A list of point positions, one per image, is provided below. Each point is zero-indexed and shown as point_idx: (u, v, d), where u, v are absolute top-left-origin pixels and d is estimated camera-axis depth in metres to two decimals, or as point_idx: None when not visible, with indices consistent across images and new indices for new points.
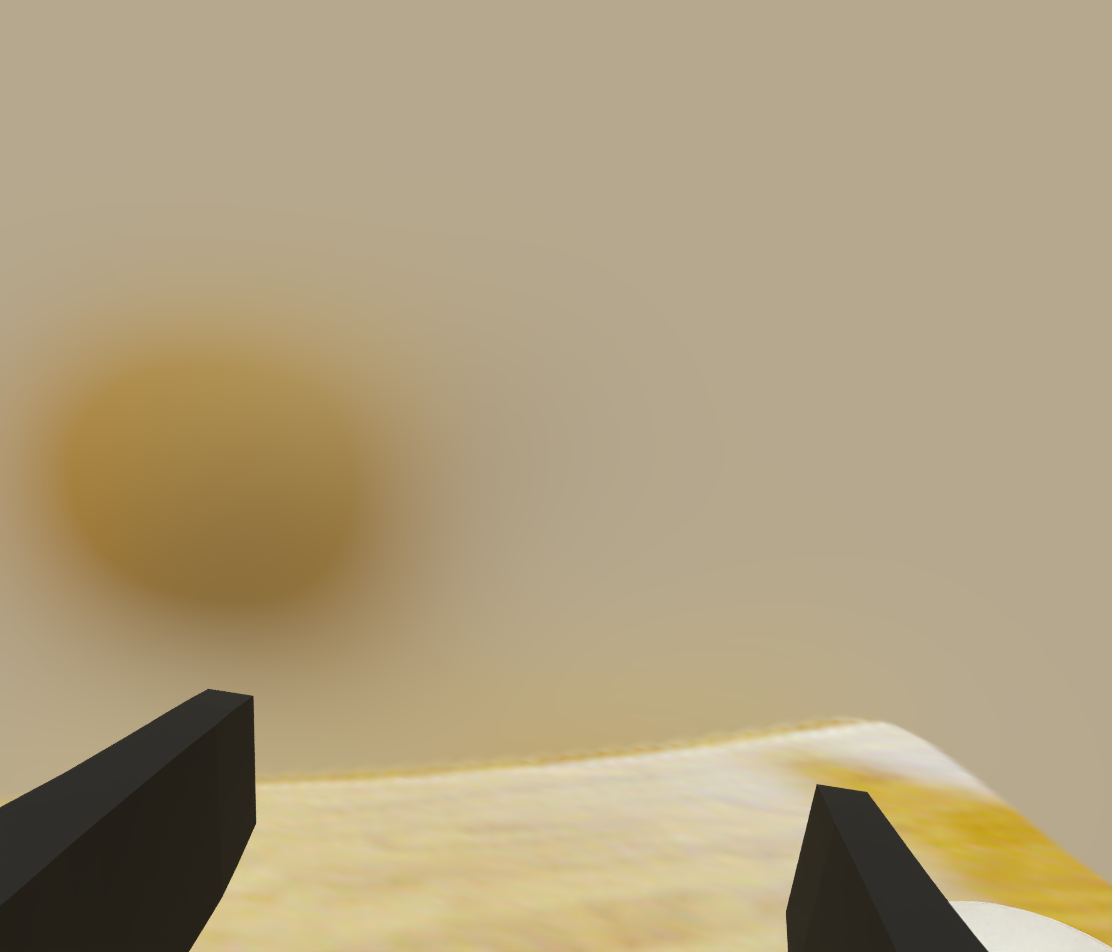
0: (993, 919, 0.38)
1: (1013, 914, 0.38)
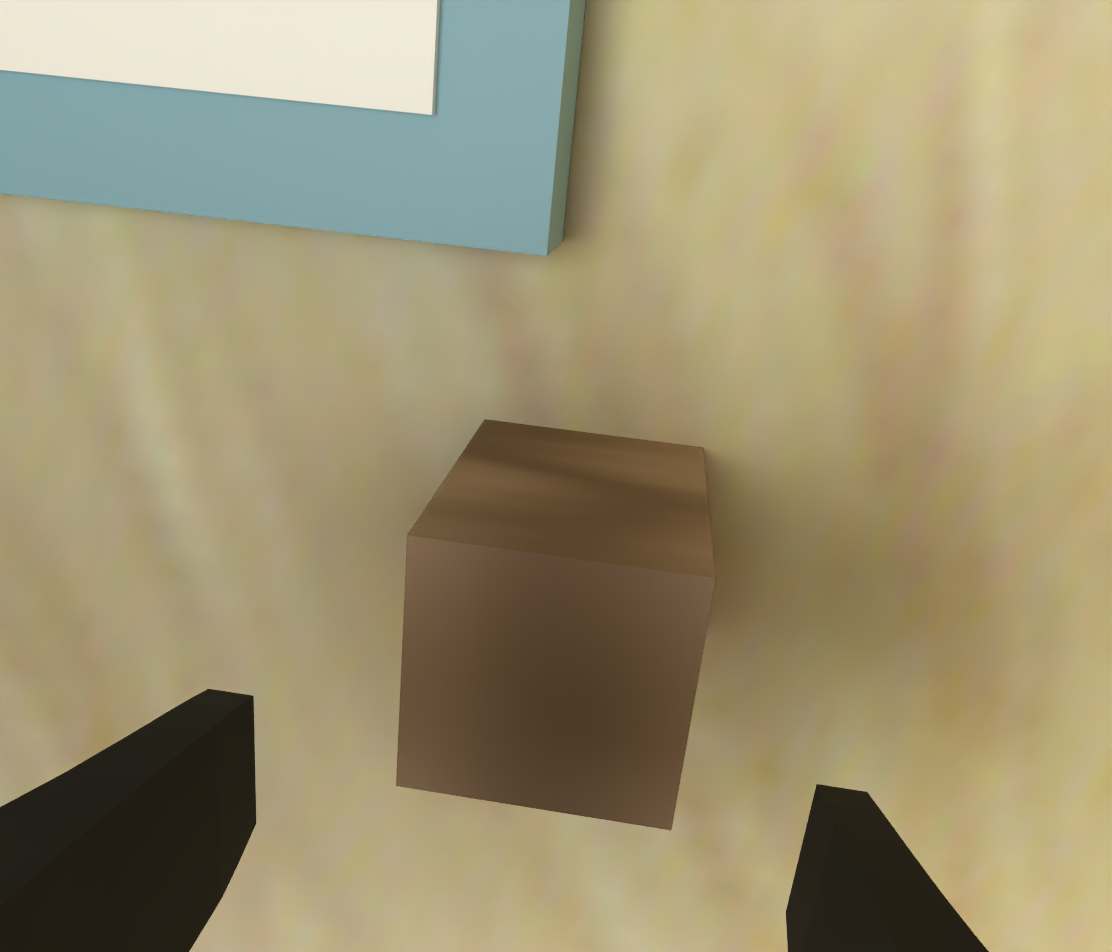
0: None
1: None
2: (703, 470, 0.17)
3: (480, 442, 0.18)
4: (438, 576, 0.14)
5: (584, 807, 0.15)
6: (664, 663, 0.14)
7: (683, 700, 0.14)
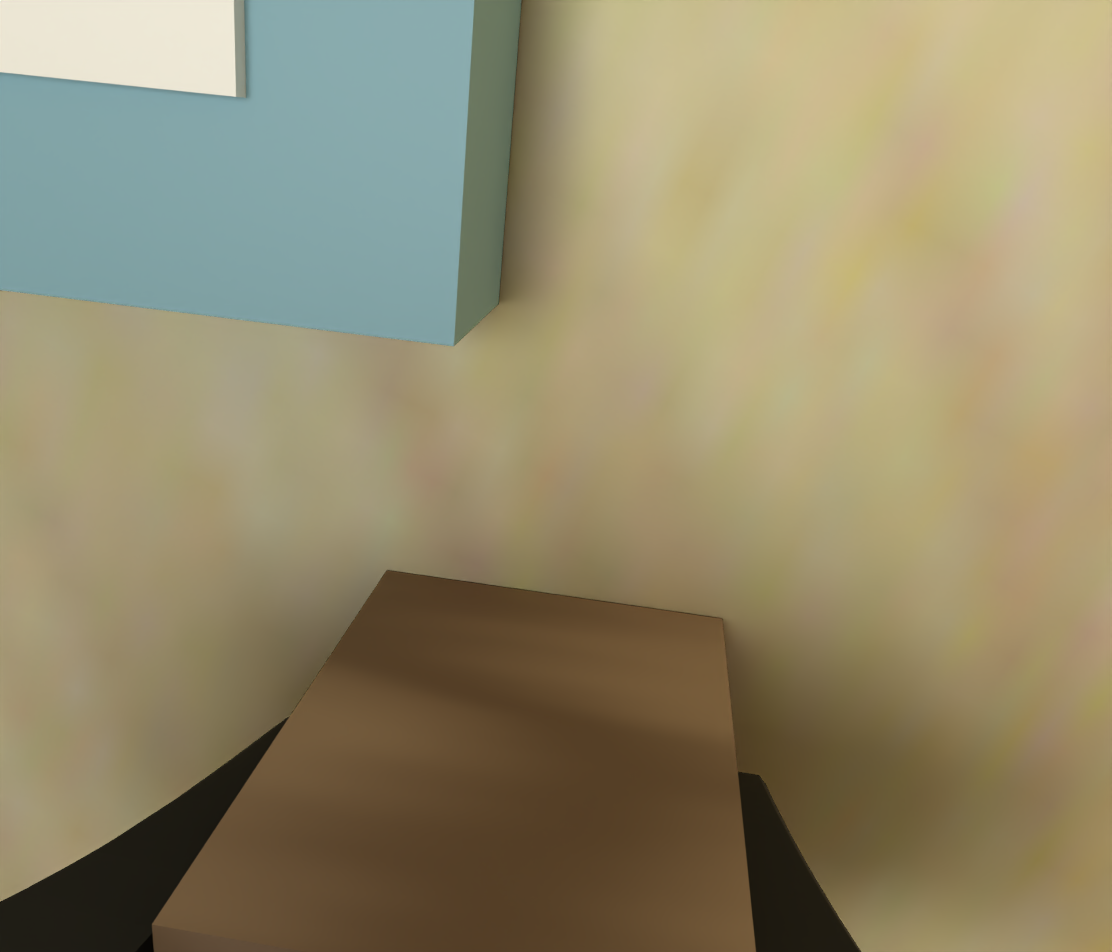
0: None
1: None
2: (726, 678, 0.11)
3: (366, 627, 0.11)
4: None
5: None
6: None
7: None
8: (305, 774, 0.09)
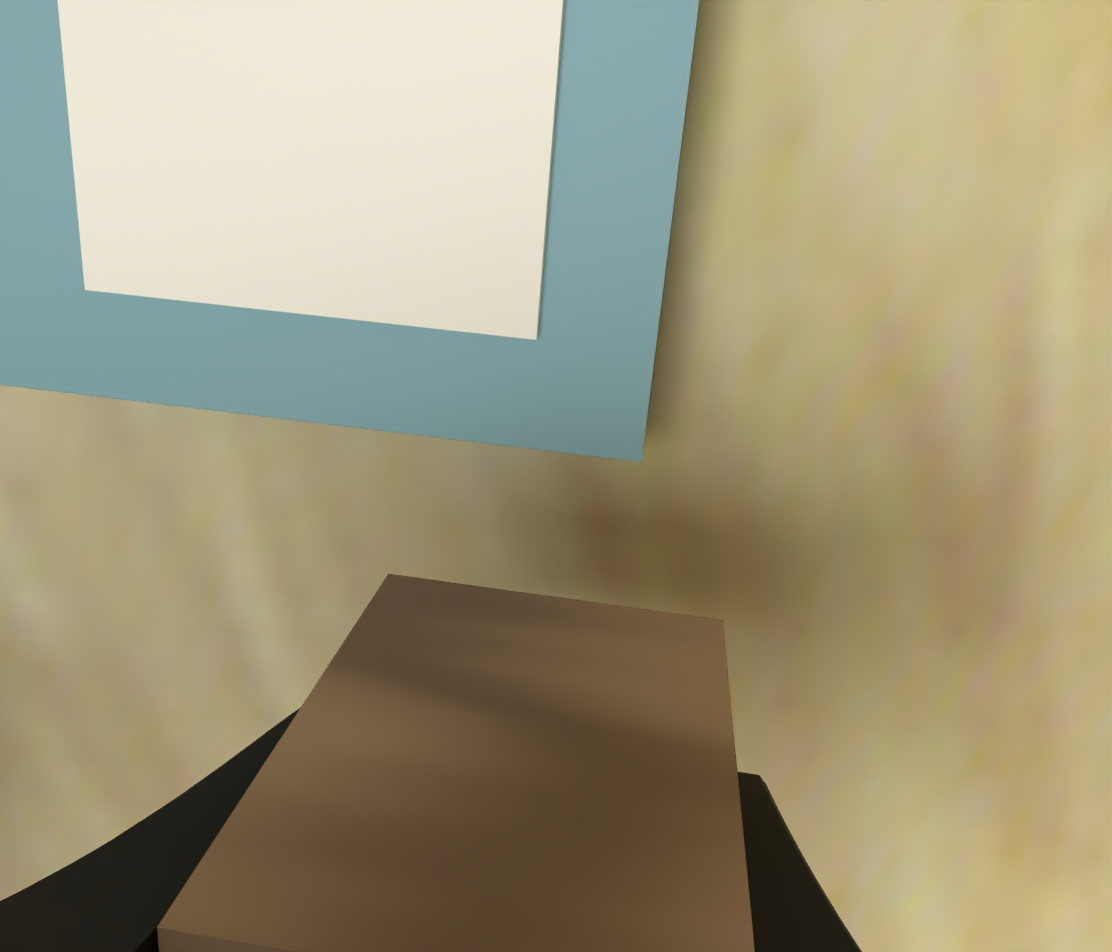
0: None
1: None
2: (725, 678, 0.11)
3: (368, 631, 0.11)
4: None
5: None
6: None
7: None
8: (308, 777, 0.09)
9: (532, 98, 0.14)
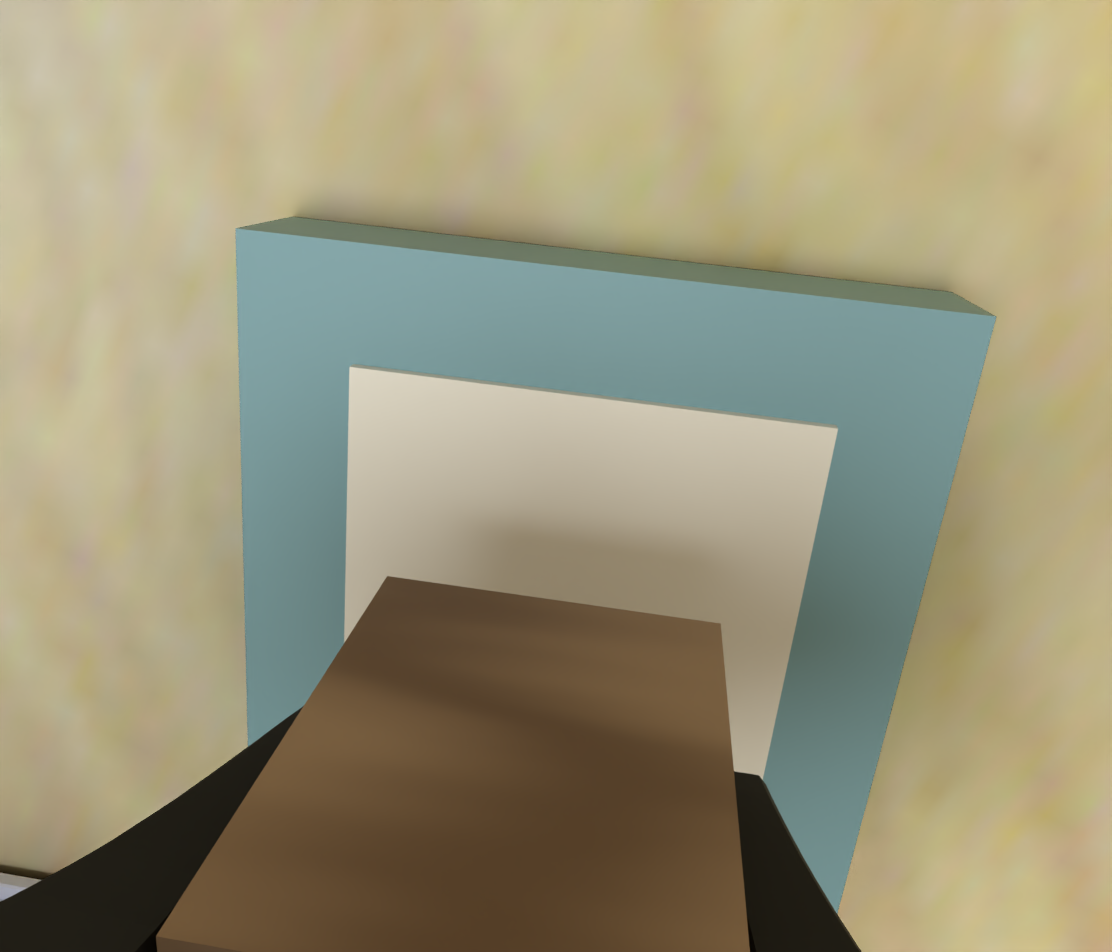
0: None
1: None
2: (724, 683, 0.11)
3: (367, 634, 0.11)
4: None
5: None
6: None
7: None
8: (306, 784, 0.09)
9: (765, 650, 0.16)
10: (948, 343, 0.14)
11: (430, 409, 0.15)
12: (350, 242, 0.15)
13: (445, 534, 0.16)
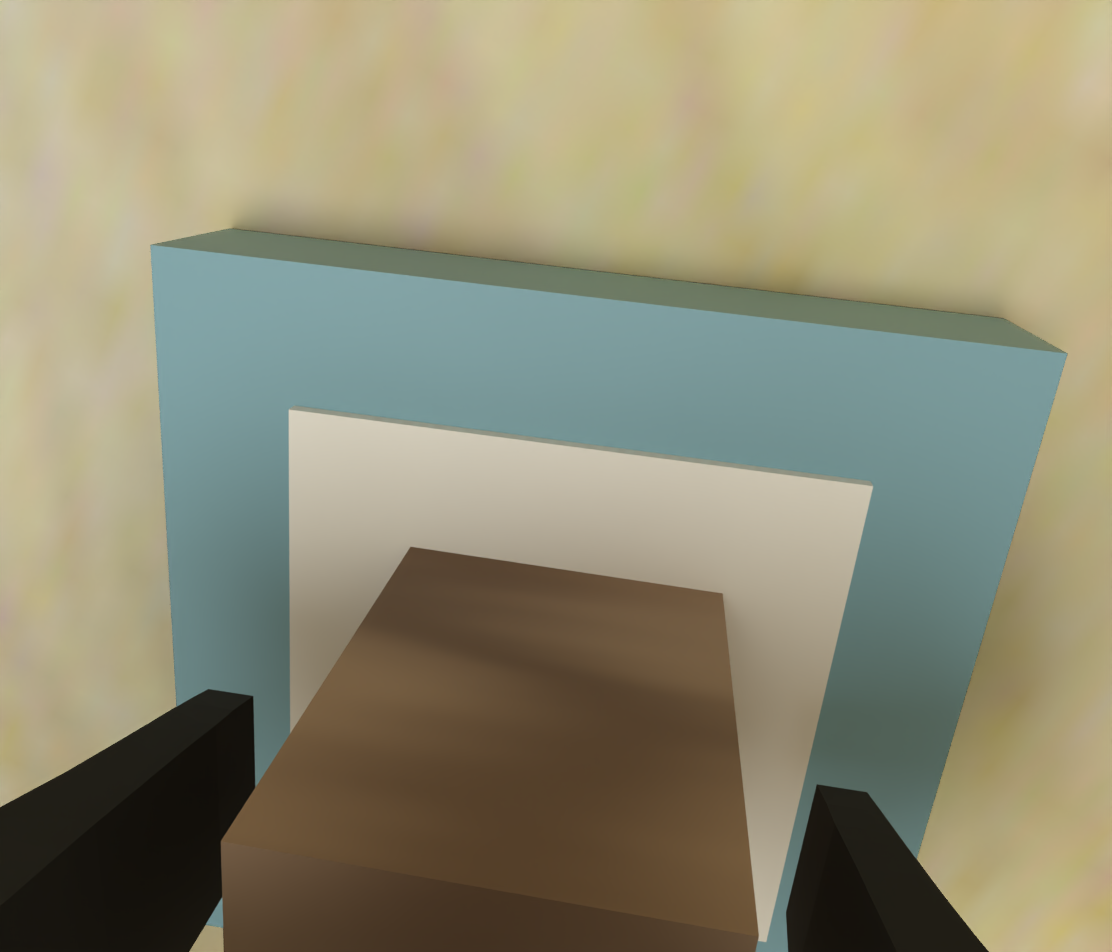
0: None
1: None
2: (725, 644, 0.12)
3: (394, 596, 0.12)
4: (277, 904, 0.08)
5: None
6: None
7: None
8: (346, 721, 0.09)
9: (783, 740, 0.14)
10: (1008, 385, 0.12)
11: (385, 460, 0.13)
12: (287, 261, 0.12)
13: None
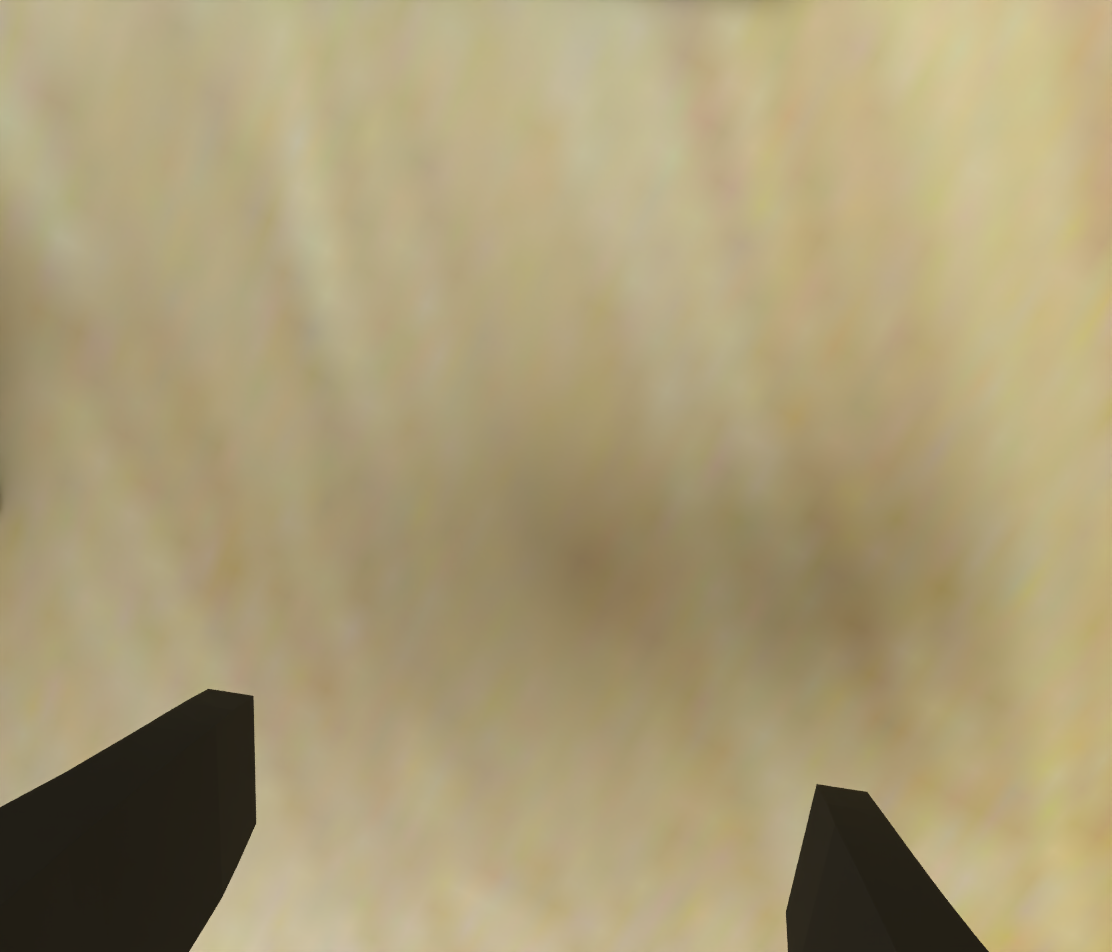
0: None
1: None
2: None
3: None
4: None
5: None
6: None
7: None
8: None
9: None
10: None
11: None
12: None
13: None
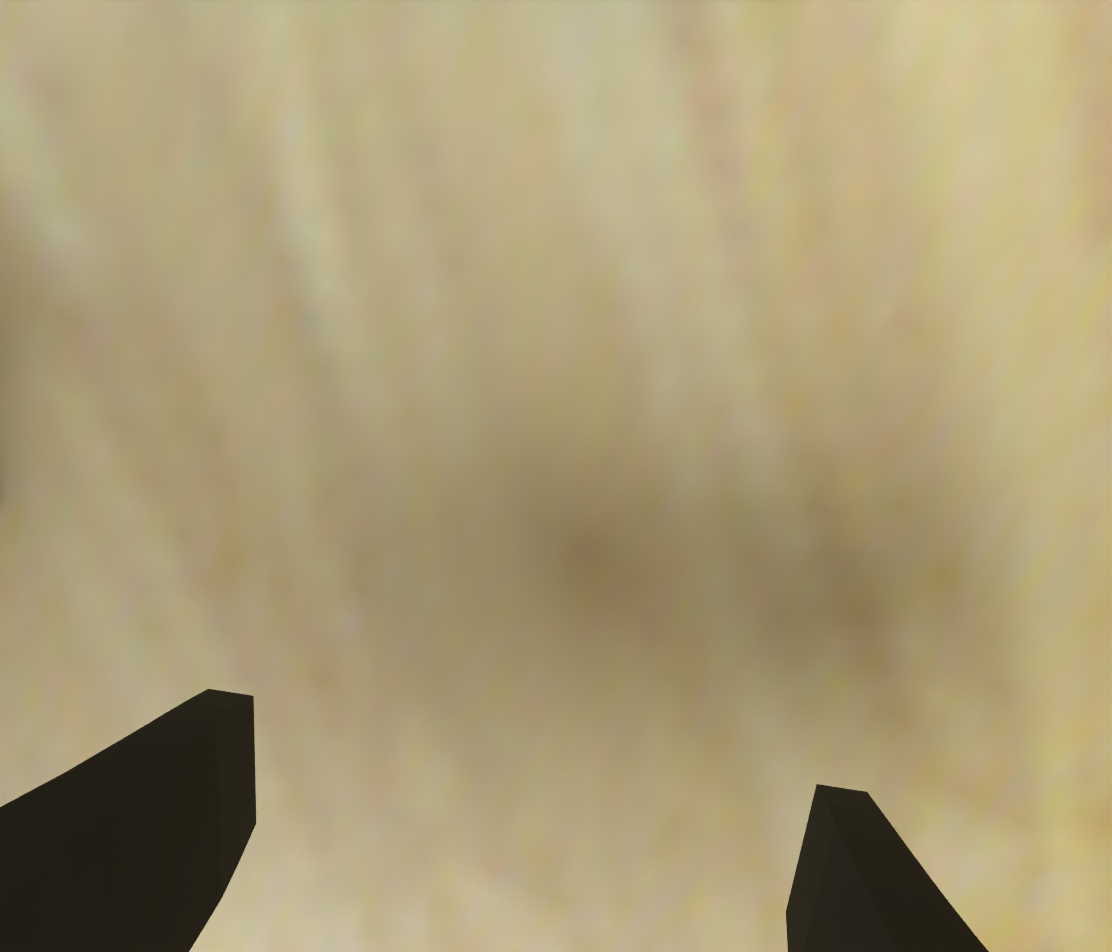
0: None
1: None
2: None
3: None
4: None
5: None
6: None
7: None
8: None
9: None
10: None
11: None
12: None
13: None
